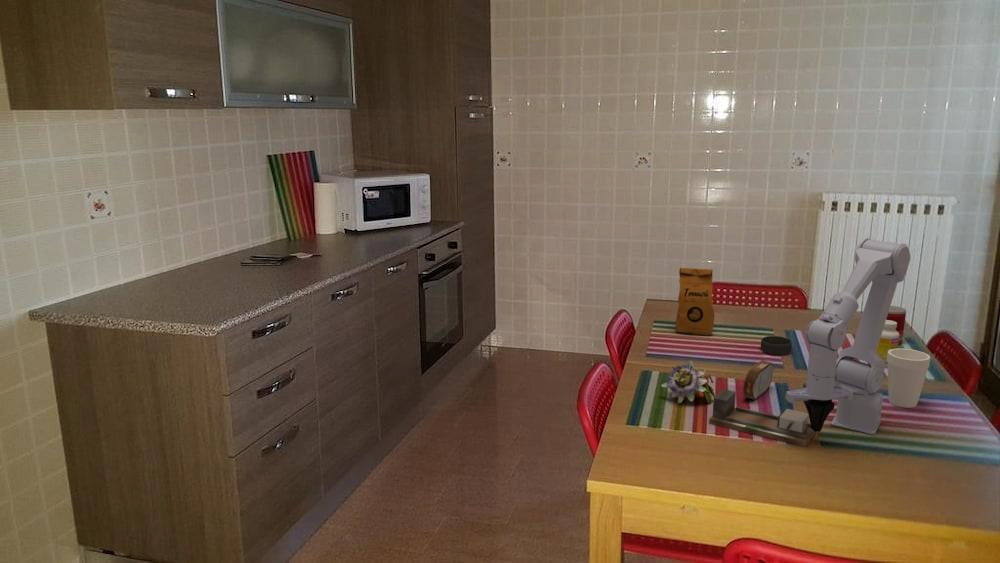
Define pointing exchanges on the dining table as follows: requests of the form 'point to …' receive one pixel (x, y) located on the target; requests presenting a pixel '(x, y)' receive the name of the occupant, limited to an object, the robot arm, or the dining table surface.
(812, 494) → the dining table surface
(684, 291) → the coffee package
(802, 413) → the block
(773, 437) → the base
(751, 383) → the tin
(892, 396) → the foam cup
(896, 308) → the canned food
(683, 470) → the dining table surface
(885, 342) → the supplement bottle
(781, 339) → the smart speaker
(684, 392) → the passion flower
